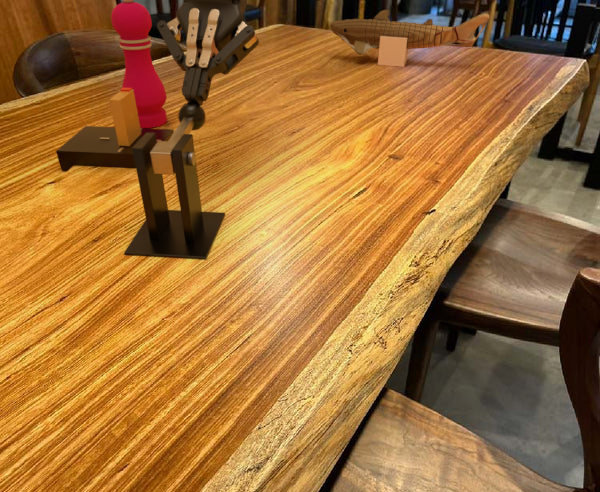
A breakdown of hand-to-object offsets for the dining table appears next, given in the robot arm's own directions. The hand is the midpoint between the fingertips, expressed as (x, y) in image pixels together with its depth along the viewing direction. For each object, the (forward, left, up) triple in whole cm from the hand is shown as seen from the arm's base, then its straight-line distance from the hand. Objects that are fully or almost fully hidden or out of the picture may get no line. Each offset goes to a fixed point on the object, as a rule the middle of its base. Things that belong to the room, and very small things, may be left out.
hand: (193, 102), depth 64 cm
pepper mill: (-16, +26, -12) cm, 33 cm away
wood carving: (+30, +71, -12) cm, 78 cm away
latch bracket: (0, -12, -12) cm, 17 cm away
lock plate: (-15, +10, -12) cm, 22 cm away
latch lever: (0, -6, -3) cm, 7 cm away
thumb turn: (-13, +10, -9) cm, 19 cm away
